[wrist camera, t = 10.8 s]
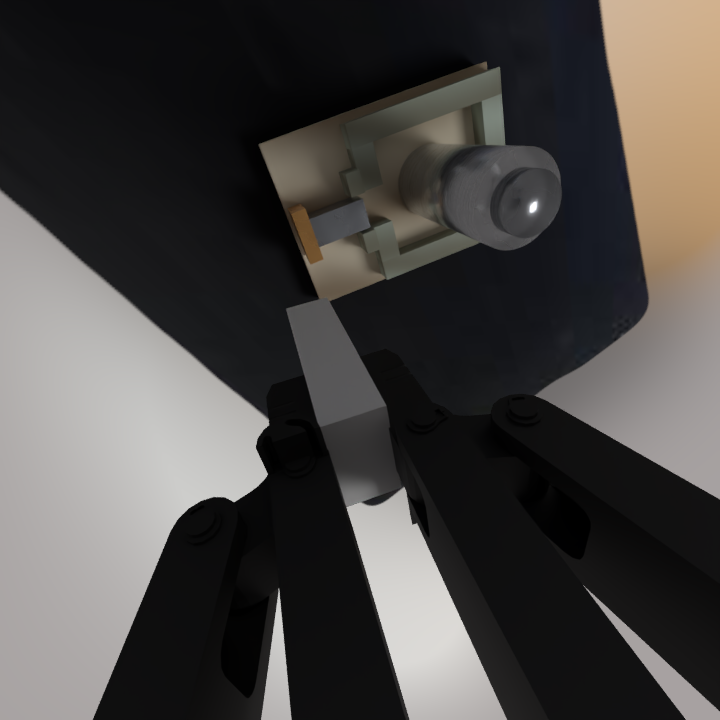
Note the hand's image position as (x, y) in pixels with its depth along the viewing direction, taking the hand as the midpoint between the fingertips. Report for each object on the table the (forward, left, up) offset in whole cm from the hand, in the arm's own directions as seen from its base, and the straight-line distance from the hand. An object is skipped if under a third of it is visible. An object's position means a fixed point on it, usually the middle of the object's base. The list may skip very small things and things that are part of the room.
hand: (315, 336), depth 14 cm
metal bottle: (0, +12, -17) cm, 21 cm away
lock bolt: (0, +4, -17) cm, 17 cm away
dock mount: (0, +9, -18) cm, 20 cm away
